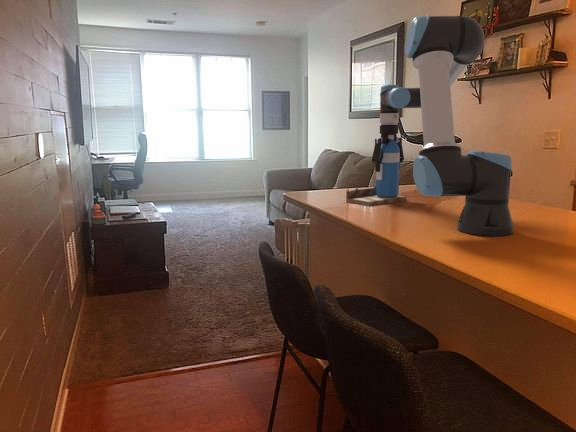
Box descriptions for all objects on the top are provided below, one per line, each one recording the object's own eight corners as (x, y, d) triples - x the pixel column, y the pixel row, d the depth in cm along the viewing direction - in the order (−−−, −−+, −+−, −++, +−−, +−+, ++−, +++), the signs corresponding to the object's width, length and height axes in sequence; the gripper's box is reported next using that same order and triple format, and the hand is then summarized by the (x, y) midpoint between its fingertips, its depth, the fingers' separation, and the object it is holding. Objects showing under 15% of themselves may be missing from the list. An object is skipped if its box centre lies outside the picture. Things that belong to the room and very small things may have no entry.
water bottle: (396, 193, 196) (398, 134, 191) (400, 196, 186) (402, 135, 182) (374, 193, 196) (376, 134, 192) (376, 196, 187) (378, 135, 183)
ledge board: (368, 206, 178) (369, 192, 177) (346, 201, 189) (346, 189, 188) (406, 200, 190) (406, 187, 189) (382, 196, 201) (383, 184, 200)
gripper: (376, 124, 177) (375, 181, 181) (414, 123, 189) (412, 177, 193) (363, 124, 183) (362, 180, 187) (400, 124, 195) (398, 176, 199)
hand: (387, 178), depth 190 cm, fingers open, 9 cm apart
